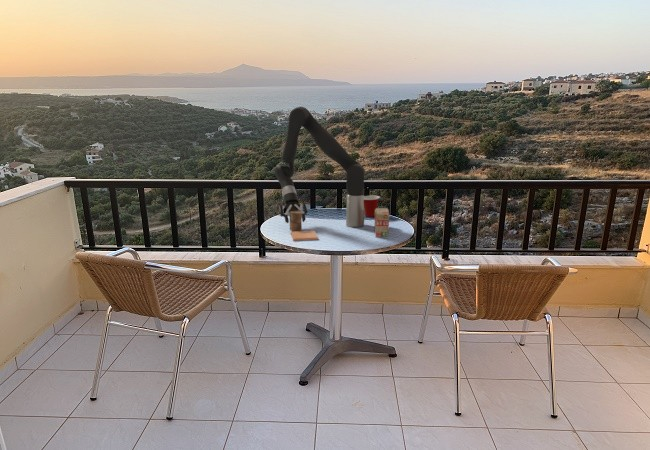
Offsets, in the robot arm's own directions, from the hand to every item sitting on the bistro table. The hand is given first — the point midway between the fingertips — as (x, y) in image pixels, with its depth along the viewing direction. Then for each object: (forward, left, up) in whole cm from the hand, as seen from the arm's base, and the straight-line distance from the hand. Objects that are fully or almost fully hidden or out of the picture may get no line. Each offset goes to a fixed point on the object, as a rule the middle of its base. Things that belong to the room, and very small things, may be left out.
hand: (296, 221), depth 207 cm
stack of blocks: (-44, +7, -5) cm, 45 cm away
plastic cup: (-47, -24, -5) cm, 53 cm away
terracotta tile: (-3, +11, -5) cm, 12 cm away
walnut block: (0, -1, -5) cm, 5 cm away
